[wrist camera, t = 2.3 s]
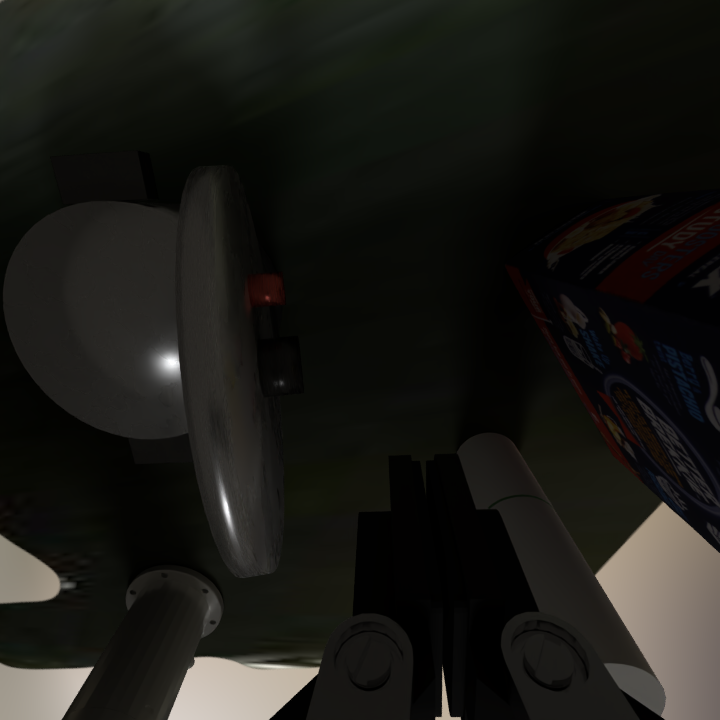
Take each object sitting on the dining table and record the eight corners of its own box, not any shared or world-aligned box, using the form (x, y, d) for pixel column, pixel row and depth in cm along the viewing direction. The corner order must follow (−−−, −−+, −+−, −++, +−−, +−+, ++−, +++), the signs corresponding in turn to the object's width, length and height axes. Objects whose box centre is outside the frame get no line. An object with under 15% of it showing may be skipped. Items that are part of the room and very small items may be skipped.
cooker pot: (309, 403, 46) (288, 466, 34) (134, 410, 46) (58, 474, 35) (283, 161, 38) (244, 139, 26) (72, 175, 38) (-53, 160, 27)
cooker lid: (271, 440, 33) (311, 435, 34) (244, 694, 16) (330, 678, 16) (233, 183, 27) (283, 181, 27) (117, 121, 9) (262, 116, 10)
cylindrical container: (442, 470, 48) (510, 720, 24) (478, 421, 46) (590, 645, 22) (494, 496, 49) (608, 761, 25) (531, 450, 47) (693, 693, 23)
